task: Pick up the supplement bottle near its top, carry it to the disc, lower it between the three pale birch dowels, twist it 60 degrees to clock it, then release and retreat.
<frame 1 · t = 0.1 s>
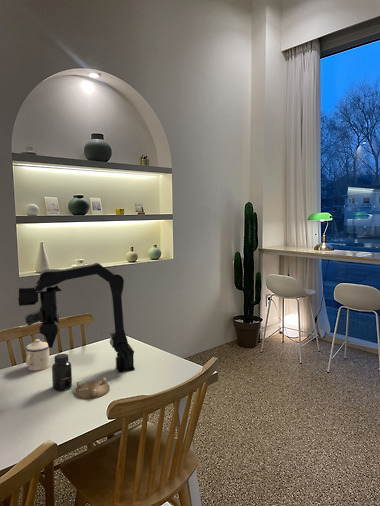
hand: (50, 343, 149), 15 cm above the table, fingers open, 9 cm apart
teacup with lid: (36, 368, 162), on the table
dowel base: (92, 390, 142), on the table
supplement bottle: (62, 387, 145), on the table
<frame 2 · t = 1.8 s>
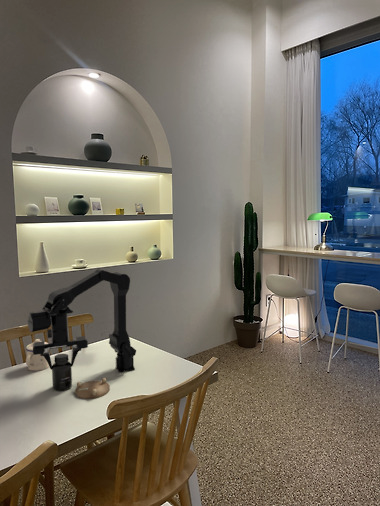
hand: (61, 367, 144), 8 cm above the table, fingers closed on supplement bottle, 7 cm apart
supplement bottle: (62, 387, 145), on the table, touching gripper
everything else where it was.
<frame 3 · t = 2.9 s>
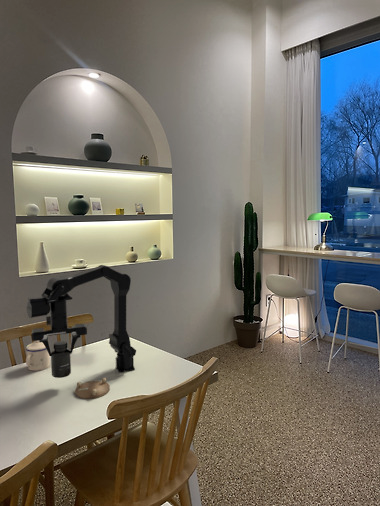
hand: (60, 354, 143), 13 cm above the table, fingers closed on supplement bottle, 7 cm apart
supplement bottle: (61, 374, 144), point 5 cm above the table, touching gripper
everything else where it was.
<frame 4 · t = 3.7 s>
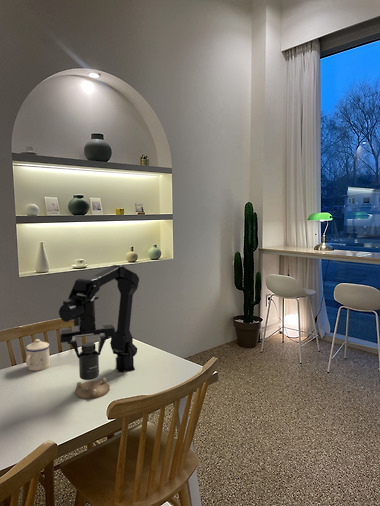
hand: (88, 356, 140), 13 cm above the table, fingers closed on supplement bottle, 7 cm apart
supplement bottle: (89, 377, 141), point 5 cm above the table, touching gripper
everything else where it was.
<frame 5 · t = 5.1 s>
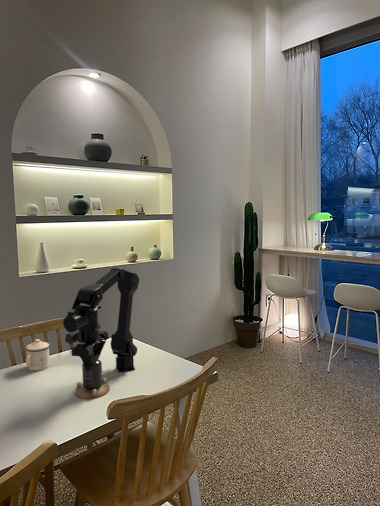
hand: (91, 365, 140), 9 cm above the table, fingers closed on supplement bottle, 7 cm apart
supplement bottle: (92, 386, 141), point 2 cm above the table, touching gripper
everything else where it was.
when the fingers open (9 cm above the table, at t = 5.9 s): supplement bottle stays where it is, resting on dowel base.
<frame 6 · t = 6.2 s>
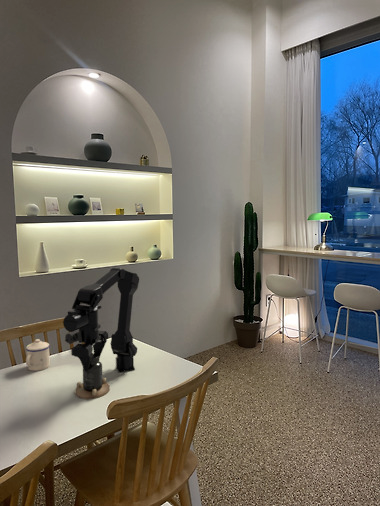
hand: (91, 365, 140), 9 cm above the table, fingers open, 9 cm apart
supplement bottle: (92, 388, 141), point 1 cm above the table, touching dowel base
everything else where it was.
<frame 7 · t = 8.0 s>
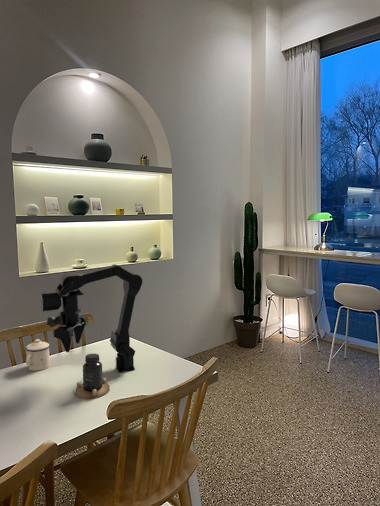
hand: (72, 347, 149), 13 cm above the table, fingers open, 9 cm apart
nothing on the table moved.
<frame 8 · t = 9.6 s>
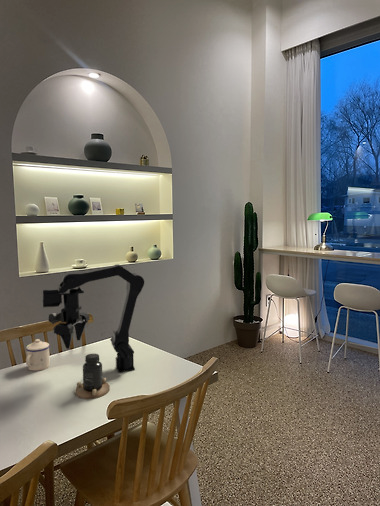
hand: (73, 344, 152), 13 cm above the table, fingers open, 9 cm apart
nothing on the table moved.
at the end: supplement bottle 0.1 cm from the dowel base (horizontally); supplement bottle tilted 1°; the gripper is holding nothing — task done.
